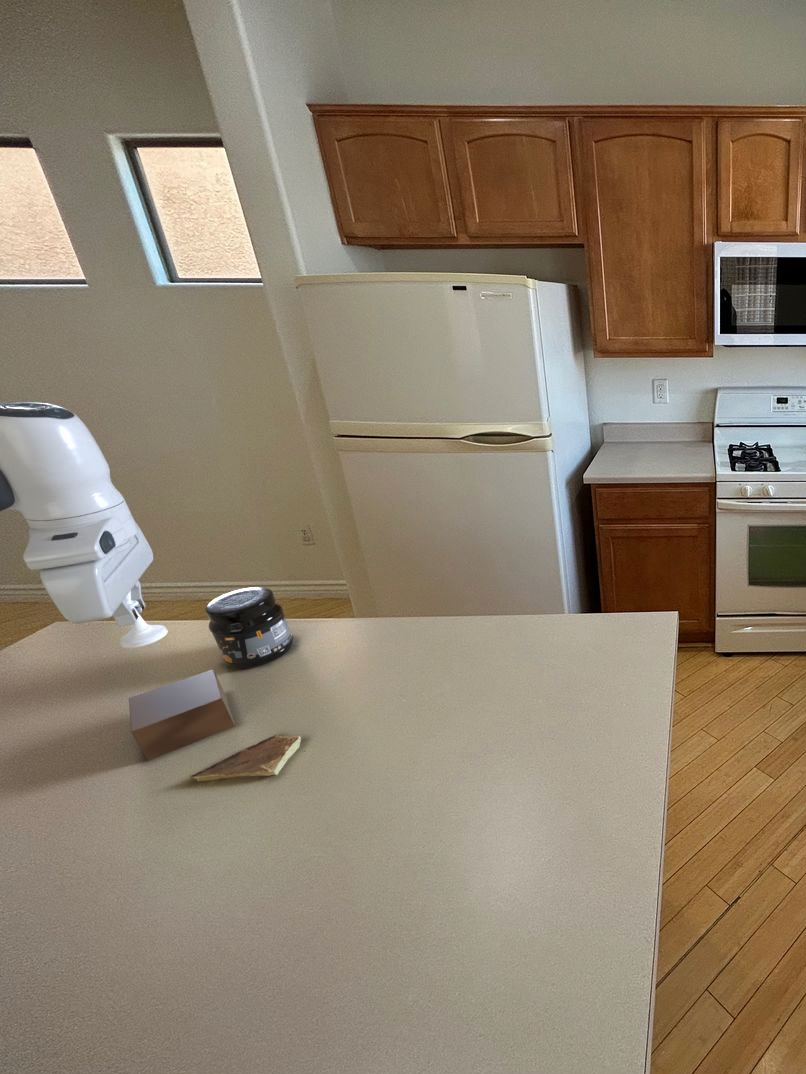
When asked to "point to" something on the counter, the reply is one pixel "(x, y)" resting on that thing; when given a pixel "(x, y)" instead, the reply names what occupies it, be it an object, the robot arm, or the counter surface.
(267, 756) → the shard
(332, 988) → the counter surface
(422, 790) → the counter surface
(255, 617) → the supplement container
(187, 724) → the walnut block
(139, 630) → the chess piece
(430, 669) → the counter surface
